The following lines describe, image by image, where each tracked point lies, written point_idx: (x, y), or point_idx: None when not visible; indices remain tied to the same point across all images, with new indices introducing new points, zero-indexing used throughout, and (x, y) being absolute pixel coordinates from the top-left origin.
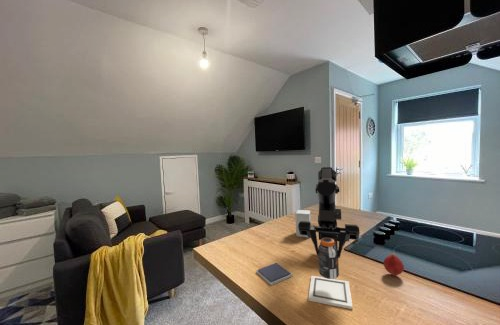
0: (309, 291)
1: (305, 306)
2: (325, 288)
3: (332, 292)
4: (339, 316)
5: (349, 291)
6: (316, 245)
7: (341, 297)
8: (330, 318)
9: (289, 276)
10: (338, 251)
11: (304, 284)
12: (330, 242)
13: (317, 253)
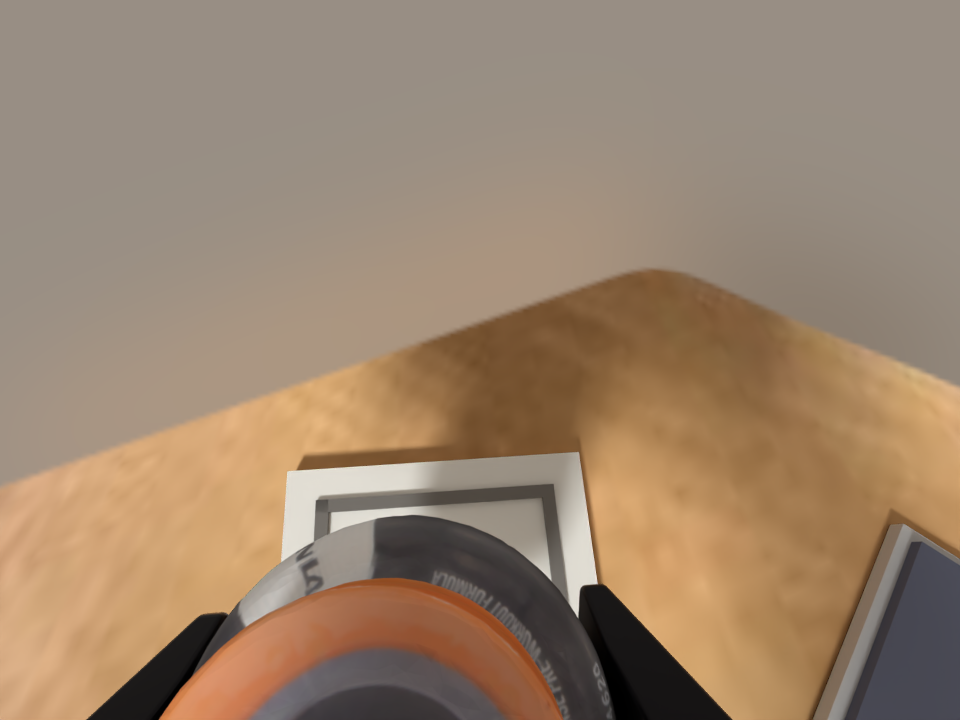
0: (588, 531)
1: (580, 396)
2: None
3: None
4: (379, 385)
5: None
6: (672, 712)
7: None
8: (428, 353)
9: (822, 716)
10: (169, 687)
11: None
12: (259, 644)
13: (594, 591)
